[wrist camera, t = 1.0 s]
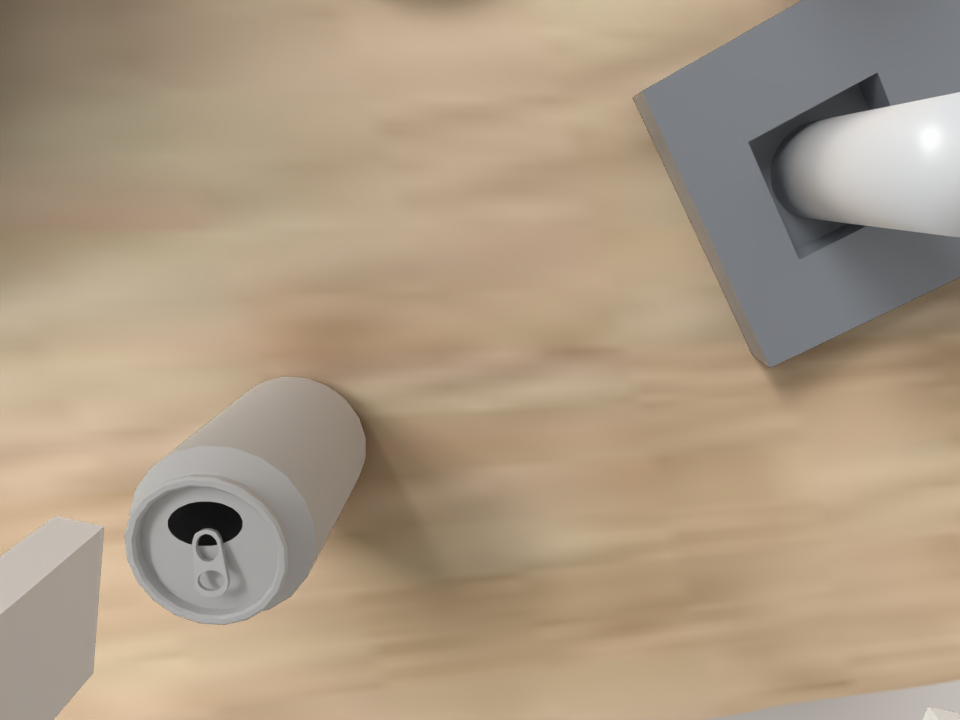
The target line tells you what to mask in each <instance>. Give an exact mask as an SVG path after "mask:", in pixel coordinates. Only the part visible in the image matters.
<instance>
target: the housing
mask: <svg viewBox="0 0 960 720" xmlns="http://www.w3.org/2000/svg"><path fill="white" fill-rule="evenodd" d="M958 92H960V0H802V1H800V2H798V3H797V4H795V5H793V6H791V7H789V8H788V9H786V10H784V11H782V12H781V13H779V14H777V15H775V16H774V17H772V18H770V19H768V20H767V21H765V22H763V23H761V24H760V25H758V26H756V27H754V28H752V29H751V30H749V31H747V32H745V33H744V34H742V35H740V36H738V37H737V38H735V39H733V40H731V41H730V42H728V43H726V44H724V45H723V46H721V47H719V48H717V49H715V50H714V51H712V52H710V53H708V54H707V55H705V56H703V57H701V58H700V59H698V60H696V61H694V62H693V63H691V64H689V65H687V66H686V67H684V68H682V69H680V70H678V71H677V72H675V73H673V74H671V75H670V76H668V77H666V78H664V79H663V80H661V81H659V82H657V83H656V84H654V85H652V86H650V87H649V88H647V89H645V90H643V91H642V92H640V93H639V94H637V95H636V96H634V97H633V100H634V102H635V104H636V106H637V108H638V110H639V112H640V115H641V117H642V119H643V121H644V123H645V125H646V127H647V130H648V132H649V134H650V136H651V138H652V140H653V142H654V145H655V147H656V149H657V151H658V153H659V155H660V158H661V160H662V162H663V164H664V166H665V168H666V170H667V173H668V175H669V177H670V179H671V181H672V183H673V185H674V188H675V190H676V192H677V194H678V196H679V198H680V200H681V203H682V205H683V207H684V209H685V211H686V213H687V215H688V218H689V220H690V222H691V224H692V226H693V228H694V230H695V233H696V235H697V237H698V239H699V241H700V243H701V245H702V248H703V250H704V252H705V254H706V256H707V258H708V260H709V263H710V265H711V267H712V269H713V271H714V273H715V275H716V278H717V280H718V282H719V284H720V286H721V288H722V290H723V293H724V295H725V297H726V299H727V301H728V303H729V306H730V308H731V310H732V312H733V314H734V316H735V318H736V321H737V323H738V325H739V327H740V329H741V331H742V333H743V336H744V338H745V340H746V342H747V344H748V346H749V348H750V351H751V353H752V355H753V356H754V357H756V358H757V359H759V360H760V361H761V362H763V363H764V364H765V365H767V366H768V367H769V368H771V367H773V366H775V365H777V364H779V363H781V362H784V361H786V360H788V359H790V358H792V357H794V356H796V355H798V354H800V353H802V352H804V351H807V350H809V349H811V348H813V347H815V346H817V345H819V344H821V343H823V342H825V341H827V340H830V339H832V338H834V337H836V336H838V335H840V334H842V333H844V332H846V331H848V330H851V329H853V328H855V327H857V326H859V325H861V324H863V323H865V322H867V321H869V320H871V319H874V318H876V317H878V316H880V315H882V314H884V313H886V312H888V311H890V310H892V309H894V308H897V307H899V306H901V305H903V304H905V303H907V302H909V301H911V300H913V299H915V298H918V297H920V296H922V295H924V294H926V293H928V292H930V291H932V290H934V289H936V288H938V287H941V286H943V285H945V284H947V283H949V282H951V281H953V280H955V279H957V278H959V277H960V237H951V236H943V235H935V234H927V233H920V232H912V231H904V230H896V229H888V228H880V227H872V226H864V225H857V224H849V223H841V222H833V221H825V220H817V219H809V218H803V217H799V216H797V215H794V214H792V213H791V212H789V211H788V210H786V209H785V208H784V207H783V206H782V205H781V204H780V203H779V201H778V200H777V198H776V197H775V195H774V192H773V189H772V186H771V179H770V172H771V165H772V161H773V158H774V155H775V153H776V151H777V149H778V147H779V146H780V144H781V143H782V142H783V140H784V139H785V138H786V137H787V136H788V135H789V134H790V133H791V132H793V131H794V130H795V129H797V128H799V127H800V126H802V125H804V124H807V123H810V122H813V121H817V120H822V119H827V118H832V117H837V116H842V115H847V114H852V113H857V112H863V111H868V110H873V109H878V108H883V107H888V106H893V105H898V104H903V103H908V102H913V101H918V100H923V99H928V98H933V97H938V96H943V95H948V94H953V93H958Z"/></svg>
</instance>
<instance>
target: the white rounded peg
mask: <svg viewBox="0 0 960 720" xmlns="http://www.w3.org/2000/svg"><path fill="white" fill-rule="evenodd" d="M770 179H771V186H772V189H773V192H774V195H775V197H776V198H777V200H778V201H779V203H780V204H781V205H782V206H783V207H784V208H785V209H786V210H788V211H789V212H791V213H792V214H794V215H797V216H799V217H803V218H809V219H817V220H825V221H833V222H841V223H849V224H857V225H864V226H872V227H880V228H888V229H896V230H904V231H912V232H920V233H927V234H935V235H943V236H951V237H960V92H958V93H953V94H948V95H943V96H938V97H933V98H928V99H923V100H918V101H913V102H908V103H903V104H898V105H893V106H888V107H883V108H878V109H873V110H868V111H863V112H857V113H852V114H847V115H842V116H837V117H832V118H827V119H822V120H817V121H813V122H810V123H807V124H804V125H802V126H800V127H799V128H797V129H795V130H794V131H793V132H791V133H790V134H789V135H788V136H787V137H786V138H785V139H784V140H783V142H782V143H781V144H780V146H779V147H778V149H777V151H776V153H775V155H774V158H773V161H772V165H771V172H770Z"/></svg>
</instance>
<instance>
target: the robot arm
mask: <svg viewBox="0 0 960 720" xmlns="http://www.w3.org/2000/svg"><path fill="white" fill-rule="evenodd" d="M103 536H104V526H99V525H95V524H90V523H86V522H81V521H77V520H72V519H67V518H63V517H58V516H55V517H53V518H52V519H51V520H49V521H48V522H47V523H45V524H44V525H42V526H41V527H40V528H38V529H37V530H36V531H34V532H33V533H32V534H30V535H29V536H27V537H26V538H25V539H23V540H22V541H21V542H19V543H18V544H17V545H15V546H14V547H12V548H11V549H10V550H8V551H7V552H6V553H4V554H3V555H2V556H0V720H54V718H55V717H56V716H57V715H58V714H59V713H60V711H61V710H62V709H63V708H64V707H65V706H66V704H67V703H68V702H69V701H70V700H71V698H72V697H73V696H74V695H75V694H76V693H77V691H78V690H79V689H80V688H81V687H82V686H83V684H84V683H85V682H86V681H87V680H88V679H89V677H90V676H91V675H92V674H93V669H94V656H95V642H96V629H97V616H98V603H99V589H100V576H101V563H102V550H103ZM922 720H960V713H955V712H950V711H945V710H941V709H937V708H932V707H928V709H927V711H926V713H925V715H924V717H923V719H922Z"/></svg>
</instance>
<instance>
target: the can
mask: <svg viewBox="0 0 960 720" xmlns="http://www.w3.org/2000/svg"><path fill="white" fill-rule="evenodd" d="M365 459H366V437H365V434H364V431H363V428H362V425H361V422H360V419H359V417H358V415H357V414H356V413H355V411H354V410H353V409H352V407H351V406H350V405H349V403H348V402H347V401H346V399H345V398H343V397H342V396H341V395H339V394H338V393H337V392H335V391H334V390H332V389H331V388H330V387H328V386H327V385H325V384H322V383H319V382H316V381H313V380H311V379H308V378H304V377H285V376H283V377H279V378H275V379H271V380H268V381H264V382H261V383H260V384H258V385H257V386H255V387H254V388H252V389H251V390H249V391H248V392H246V393H245V394H244V395H242V396H241V397H240V398H239V399H237V400H236V401H235V402H233V403H232V404H231V405H230V406H228V407H227V408H226V409H225V410H223V411H222V412H221V413H220V414H218V415H217V416H216V417H215V418H213V419H212V420H211V421H209V422H208V423H207V424H206V425H204V426H203V427H202V428H201V429H199V430H198V431H197V432H196V433H194V434H193V435H192V436H190V437H189V438H188V439H187V440H185V441H184V442H183V443H182V444H180V445H179V446H178V447H177V448H175V449H174V450H173V451H172V452H170V453H169V454H168V455H166V456H165V457H164V458H163V459H161V460H160V461H159V462H158V463H156V464H155V465H154V466H153V467H151V468H150V470H149V471H148V473H147V474H146V475H145V477H144V478H143V480H142V481H141V482H140V484H139V485H138V487H137V488H136V490H135V494H134V498H133V502H132V506H131V510H130V514H129V521H128V525H127V529H126V532H125V545H126V554H127V560H128V563H129V565H130V567H131V569H132V571H133V574H134V576H135V578H136V580H137V582H138V583H139V584H140V585H141V587H142V588H143V589H144V590H145V591H146V592H147V594H148V595H149V596H150V597H151V598H152V599H153V600H154V601H155V602H156V603H158V604H159V605H161V606H162V607H164V608H165V609H167V610H168V611H170V612H171V613H173V614H174V615H177V616H180V617H183V618H185V619H188V620H191V621H194V622H197V623H203V624H218V625H226V624H230V623H235V622H239V621H244V620H248V619H249V618H251V617H253V616H254V615H256V614H258V613H260V612H261V611H265V610H269V609H271V608H272V607H274V606H276V605H277V604H279V603H281V602H282V601H284V600H286V599H287V598H289V597H291V596H292V595H293V593H294V592H295V591H296V590H297V588H298V587H299V586H300V585H301V584H302V582H303V581H304V580H305V579H306V578H307V576H308V574H309V572H310V570H311V568H312V566H313V565H314V563H315V561H316V559H317V557H318V555H319V553H320V551H321V549H322V547H323V545H324V543H325V542H326V540H327V538H328V536H329V534H330V532H331V530H332V528H333V526H334V524H335V522H336V520H337V519H338V517H339V515H340V513H341V511H342V509H343V507H344V505H345V503H346V501H347V499H348V498H349V496H350V494H351V492H352V490H353V488H354V486H355V484H356V482H357V480H358V478H359V476H360V473H361V470H362V468H363V465H364V462H365Z"/></svg>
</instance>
